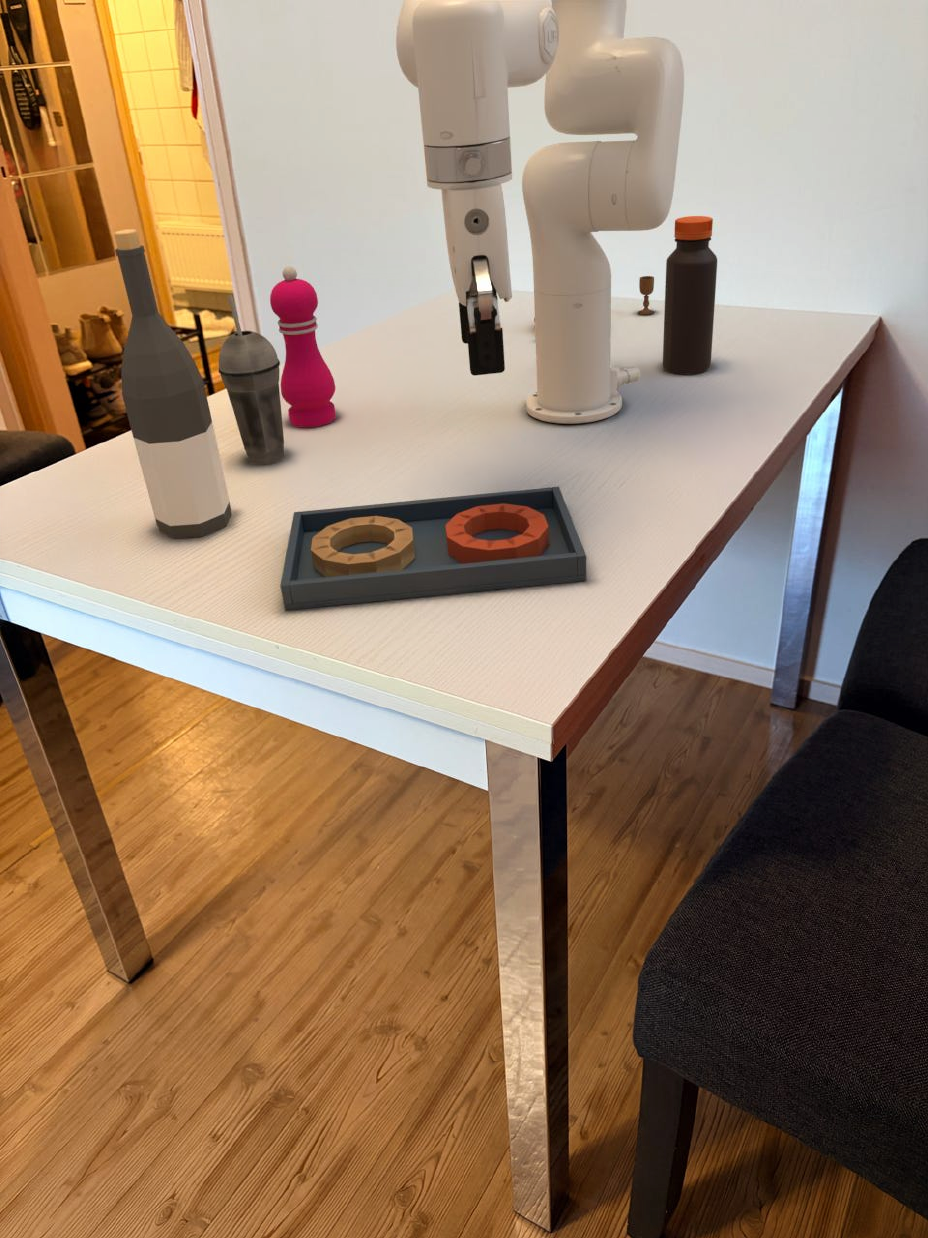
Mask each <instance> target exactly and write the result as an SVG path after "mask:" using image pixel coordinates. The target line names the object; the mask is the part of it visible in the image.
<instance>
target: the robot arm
mask: <svg viewBox="0 0 928 1238" xmlns="http://www.w3.org/2000/svg"><path fill="white" fill-rule="evenodd" d="M627 3H628V2H627V0H551V3H550V1H549V0H403V2H402V5H401V8H400V12H399V16H398V20H397V25H396V36H395V45H396V46H395V47H396V56H397V60H398V63H399V67H400V69H401V72H402V73H403V75H404V76H405V78H406V79H407V81H408V82H409V83H410V84H412V86H414V87H415V88H417V91H418V102H419V112H420V119H421V120H420V122H421V132H422V141H423V151H424V152H423V153H424V161H425V164H424V165H425V175H426V184H427V187H428V188H430V189H434V190H441V199H442V200H441V202H442V211H443V223H444V230H445V240H446V248H447V254H448V261H449V267H450V272H451V277H452V281H453V286H454V289H455V294H456V297H457V300H458V310H459V311H458V312H459V321H460V333H461V334H460V335H461V342H462V343H463V344H466V345H467V348H468V349H467V350H468V362H469V371H470V375H472V376H475V377H476V376H483V375H494V374H502V373H504V372H505V370H506V363H505V350H504V347H505V346H504V331H503V327H501V317H500V309H499V301H498V299H499V300H501V299H502V300H504V303H508V302H509V301H511V299H512V297H513V291H512V280H511V279H512V278H511V269H510V268H511V267H510V257H509V255H510V254H509V242H508V228H507V217H506V208H505V201H504V200H505V199H504V193H503V187H502V186H503V185H502V184H505V183H507V182H510V181H512V180H513V169H512V168H513V166H512V165H513V163H512V145H511V143H512V142H511V131H510V130H511V129H510V112H509V89H508V88H520V87H521V88H522V87H527V86H530V85H532V84H535V83H537V82H538V81H540V80H541V79H542V78H544V76H545V83H544V99H543V100H544V114H545V118H546V120H547V123H548V125H549V126H550V127H551V129H553V130H554V131H556V132H558V133H561V134H565V135H572V136H573V135H574V136H597V135H599V136H600V135H622V134H624V135H625V134H627V135H628V134H634V135H636V136H637V137H636V139H635V140H614V141H612V140H611V141H609V140H608V141H601V140H596V141H595V140H593V141H591V140H590V141H572V142H571V141H570V142H569V141H567V142H560V143H559V142H558V143H553V144H549V145H546V146H544V147H542V148H540V149H538V150H536V151H535V152H533V154H532V155H531V156H530V157H529V158H528V160H527V161H526V163H525V165H524V168H523V172H522V176H521V177H522V178H521V189H522V190H521V191H522V198H523V204H524V210H525V214H526V220H527V224H528V230H529V239H530V246H531V256H532V278H533V304H534V306H533V307H534V318H535V323H534V334H535V335H534V336H535V362H536V363H535V365H536V367H535V369H536V390H537V391H535V392H534V393H532V394H530V395H529V396H528V397H527V399H526V400H525V410H526V411H525V412H526V413H527V414H528V415H530V416H531V417H532V418H534V419H537V420H539V421H542V422H546V423H553V424H562V425H563V424H564V425H566V424H567V425H571V424H573V425H574V424H587V423H593V422H597V421H598V422H599V421H602V420H605V419H608V418H610V417H612V416H614V415H616V414H617V413H619V412H620V410H621V409H622V407H623V397H622V396H621V394H620V393H619V392H618V389H621V387H622V385H628V384H631V383H635V382H638V381H639V380H640V377H641V373H640V370H639V368H638V367H636V366H632V367H628V368H625V369H622V370H620V368H619V367H618V366H613V367H611V348H612V347H611V345H612V344H611V341H612V340H611V339H612V338H611V337H612V336H611V335H612V331H611V329H612V326H611V325H612V269H611V265H610V261H609V259H608V257H607V255H606V253H605V251H604V250H603V248H602V246H601V244H600V243H599V242H598V241H597V239H596V238H595V236H594V234H593V233H597V232H640V231H649V230H655V229H657V228H660V226H661V225H663V224H664V222H665V221H666V220H667V218H668V216H669V214H670V211H671V207H672V202H673V197H674V189H675V182H676V172H677V164H678V163H677V162H678V156H679V155H678V154H679V146H680V145H679V143H680V135H681V127H682V117H683V108H684V97H685V95H684V94H685V70H684V62H683V57H682V55H681V52H680V49H679V48H678V46H677V45H676V44H675V43H674V42H673V41H672V40H669V39H667V38H666V37H665V38H664V37H657V36H645V37H630V38H625V37H624V36H625V35H624V34H625V26H626V14H627V8H628V7H627V6H628V5H627Z"/></svg>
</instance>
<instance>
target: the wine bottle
mask: <svg viewBox="0 0 928 1238" xmlns="http://www.w3.org/2000/svg"><path fill="white" fill-rule="evenodd" d="M113 235H114V240H115V244H116V249H115V248H114V252H115V255H116V257H117V261H118V264H119V268H120V272H121V276H122V280H123V284H124V288H125V292H126V296H127V301H128V304H129V308H130V312H131V316H132V317H131V321H130V325H129V331H128V333H127V337H126V340H125V344H124V348H123V352H122V360H121V361H122V363H121V372H120V377H121V379H120V380H121V381H120V382H121V396H122V400H123V403H124V408H125V412H126V415H127V418H128V419H127V420H128V422H129V426H130V430H131V434H132V438H133V442H134V446H135V449H136V453H137V457H138V460H139V464H140V467H141V472H142V476H143V480H144V483H145V486H146V490H147V494H148V498H149V501H150V505H151V510H152V513H153V517H154V520H155V523H156V526H157V529H158V531H159V532H160V533H162V534H164V535H166V536H168V537H170V538H172V539H174V540H176V539H187V538H189V539H190V538H203V537H205V536H207V535H210V534H213V533H214V532H216V531H219V530H221V529H223V528H225V527H227V525H228V523H229V520H230V519H231V516H232V505H231V501H230V496H229V492H228V488H227V483H226V479H225V475H224V469H223V465H222V461H221V455H220V450H219V447H218V442H217V439H216V432H215V428H214V424H213V420H212V415H211V410H210V405H209V400H208V396H207V391H206V387H205V383H204V379H203V376H202V374H201V372H200V369H199V367H198V365H197V363H196V362H195V359H194V358H193V356H192V354H191V353H190V351H189V350H188V347H187V346H186V344H185V343H184V341H183V340H182V339H181V338H180V337H179V335H178V334H177V333H176V332H175V330H174V329H173V328H172V327H171V326H170V325H169V323H167V321H166V320H165V318H163V316H162V315H161V314H160V312H159V309H158V306H157V301H156V297H155V292H154V289H153V284H152V279H151V276H150V271H149V267H148V262H147V258H146V254H145V253H146V249H145V246H144V245H142V244H141V242H140V237H139V233H138V230H137V229H133V228H128V229H121V230H117V231H115V232H113Z"/></svg>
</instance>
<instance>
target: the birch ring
mask: <svg viewBox="0 0 928 1238" xmlns="http://www.w3.org/2000/svg"><path fill="white" fill-rule="evenodd" d="M372 541H373V542H380V543H386V544H389V545H388V546H387V547H385V548H382V549H379V550H377V551H374V552H371V553H363V554H347V553H341V552H338V551H339V550H341V549H342V548H344V547H347V546H350V545H353V544H355V543H362V542H372ZM311 554H312V560H313V566H314V568H315V569H316V570H317V571H318V572H320V573H321V574H322V575H323V576H325V577H335V576H345V575H355V574H365V573H375V572H385V571H396V570H403V569H404V568H405V567H406V566H407V565H408V564H409V563H410V562H411V561H412V560H413V559H414V558H415V550H414V539H413V530H412V528H411V527H410V526H408V525H407V524H405V523H403V522H402V521H400V520H399V519H394V518H387V517H380V516H369V517H359V518H350V519H347V520H344V521H341V522H338V523H335V524H332V525H329V526H327V527H325V528H324V529H323V530H322V531H320V532H319V533H318V534H317V535H315V536H314V537H313V538H312V545H311Z"/></svg>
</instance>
